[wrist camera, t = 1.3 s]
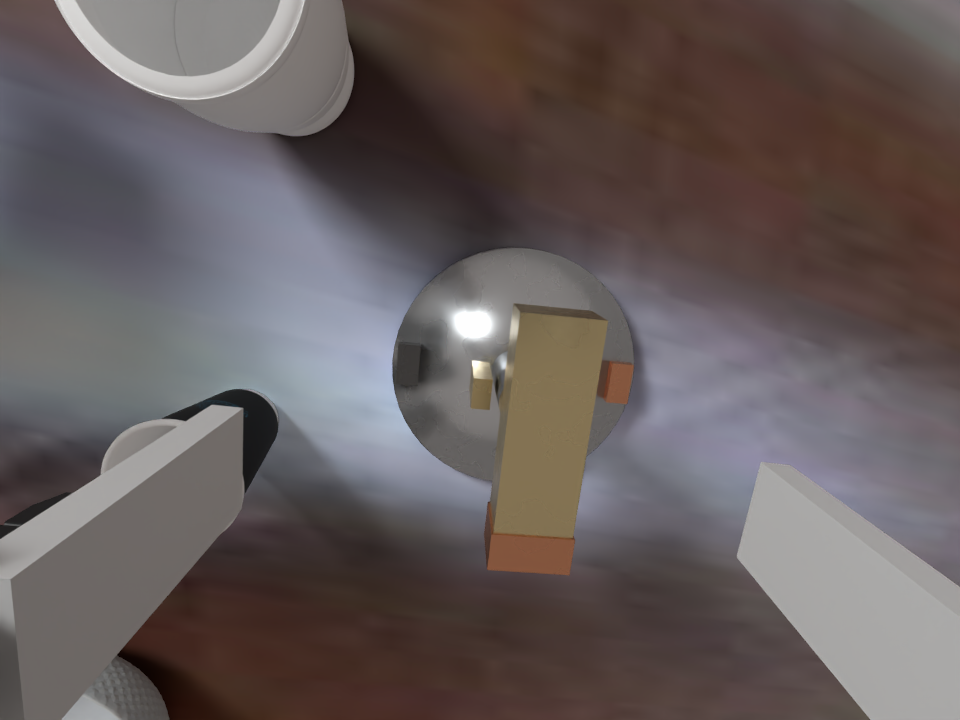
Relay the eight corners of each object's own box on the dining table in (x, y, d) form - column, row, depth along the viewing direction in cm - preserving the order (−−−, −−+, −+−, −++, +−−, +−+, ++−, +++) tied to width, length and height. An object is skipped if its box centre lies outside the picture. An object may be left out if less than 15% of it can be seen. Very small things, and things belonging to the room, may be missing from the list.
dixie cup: (266, 352, 39) (195, 397, 28) (317, 441, 41) (268, 515, 30) (174, 394, 40) (70, 455, 29) (229, 480, 42) (150, 567, 31)
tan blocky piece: (461, 460, 38) (463, 568, 26) (480, 282, 35) (491, 309, 23) (550, 467, 39) (592, 576, 27) (575, 291, 36) (637, 323, 23)
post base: (387, 464, 42) (370, 522, 34) (402, 235, 37) (387, 236, 29) (607, 481, 43) (643, 541, 35) (646, 260, 39) (697, 268, 30)
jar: (213, -37, 33) (20, -247, 18) (377, -9, 34) (315, -190, 19) (211, 141, 36) (40, 80, 21) (364, 163, 36) (301, 119, 22)
